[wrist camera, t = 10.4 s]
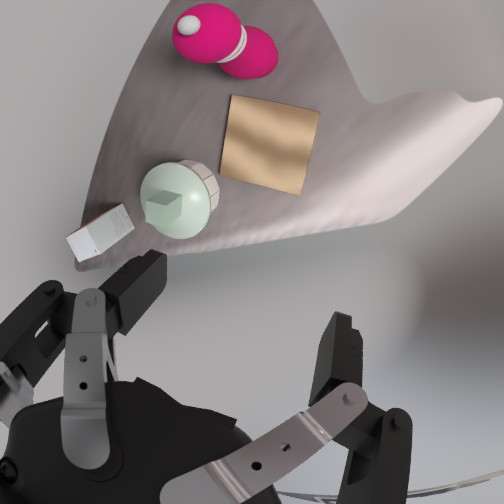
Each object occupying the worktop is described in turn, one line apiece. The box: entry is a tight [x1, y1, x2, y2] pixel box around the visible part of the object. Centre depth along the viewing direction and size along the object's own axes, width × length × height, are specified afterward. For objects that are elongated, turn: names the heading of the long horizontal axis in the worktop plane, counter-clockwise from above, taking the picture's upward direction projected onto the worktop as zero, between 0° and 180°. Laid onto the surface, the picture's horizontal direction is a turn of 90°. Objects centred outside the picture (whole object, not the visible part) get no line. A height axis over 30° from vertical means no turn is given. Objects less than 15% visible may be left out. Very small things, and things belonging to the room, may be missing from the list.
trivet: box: [220, 95, 320, 196], centre depth 37 cm, size 12×12×1 cm
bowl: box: [178, 159, 220, 214], centre depth 42 cm, size 10×10×5 cm
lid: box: [140, 162, 211, 239], centre depth 38 cm, size 12×12×5 cm
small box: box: [66, 203, 135, 262], centre depth 48 cm, size 8×6×10 cm
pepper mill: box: [172, 3, 278, 79], centre depth 24 cm, size 7×7×20 cm
